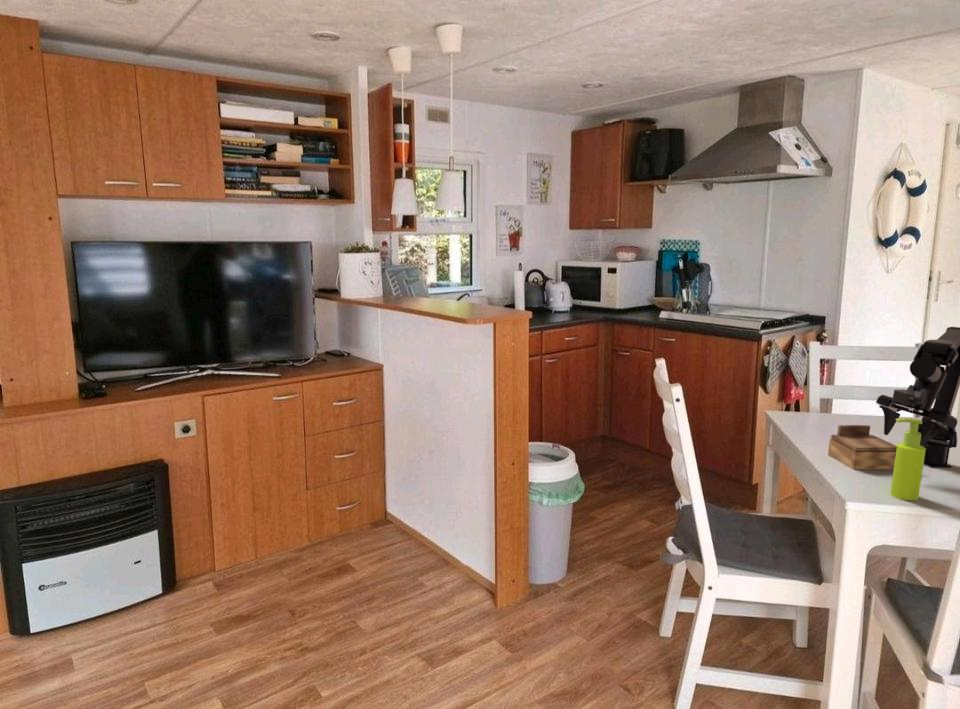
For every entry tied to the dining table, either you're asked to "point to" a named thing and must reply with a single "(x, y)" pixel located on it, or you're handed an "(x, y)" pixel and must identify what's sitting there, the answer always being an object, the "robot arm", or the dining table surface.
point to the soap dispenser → (908, 463)
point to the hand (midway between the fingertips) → (901, 440)
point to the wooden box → (861, 457)
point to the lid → (861, 439)
